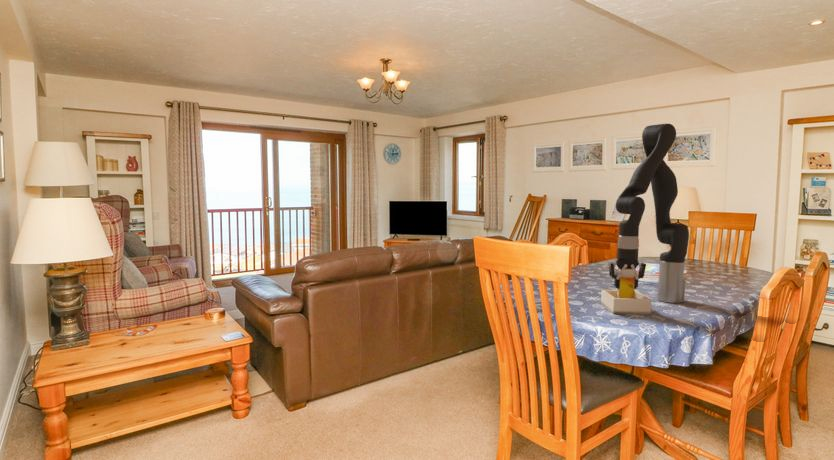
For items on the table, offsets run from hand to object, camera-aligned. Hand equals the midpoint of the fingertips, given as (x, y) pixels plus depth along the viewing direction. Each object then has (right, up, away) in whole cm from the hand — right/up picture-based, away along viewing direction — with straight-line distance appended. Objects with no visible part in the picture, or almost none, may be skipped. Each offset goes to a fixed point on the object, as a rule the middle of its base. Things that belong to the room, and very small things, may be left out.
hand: (625, 288), depth 181 cm
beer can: (0, -7, +1) cm, 7 cm away
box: (0, -8, +1) cm, 9 cm away
